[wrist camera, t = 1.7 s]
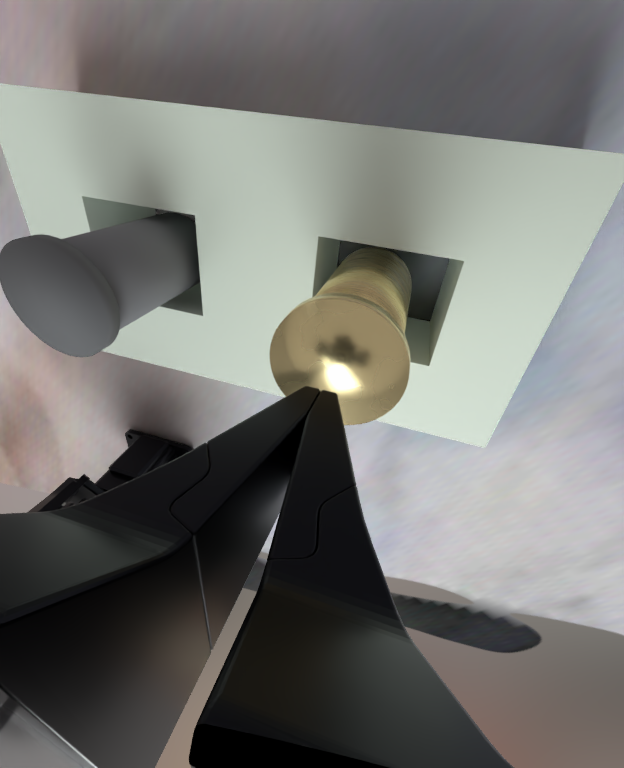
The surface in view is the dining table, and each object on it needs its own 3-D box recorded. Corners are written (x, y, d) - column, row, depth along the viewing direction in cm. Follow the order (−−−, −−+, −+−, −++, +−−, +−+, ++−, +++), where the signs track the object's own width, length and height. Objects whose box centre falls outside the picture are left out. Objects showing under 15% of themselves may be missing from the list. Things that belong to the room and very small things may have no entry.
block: (475, 391, 21) (485, 448, 17) (124, 311, 25) (66, 342, 21) (581, 152, 15) (637, 155, 11) (77, 94, 19) (-21, 81, 15)
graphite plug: (218, 297, 19) (119, 368, 13) (149, 283, 20) (24, 343, 14) (214, 212, 17) (89, 250, 11) (135, 199, 18) (-23, 228, 12)
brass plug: (405, 337, 18) (390, 438, 12) (323, 319, 18) (267, 406, 12) (430, 248, 15) (428, 317, 9) (333, 232, 16) (271, 286, 10)
